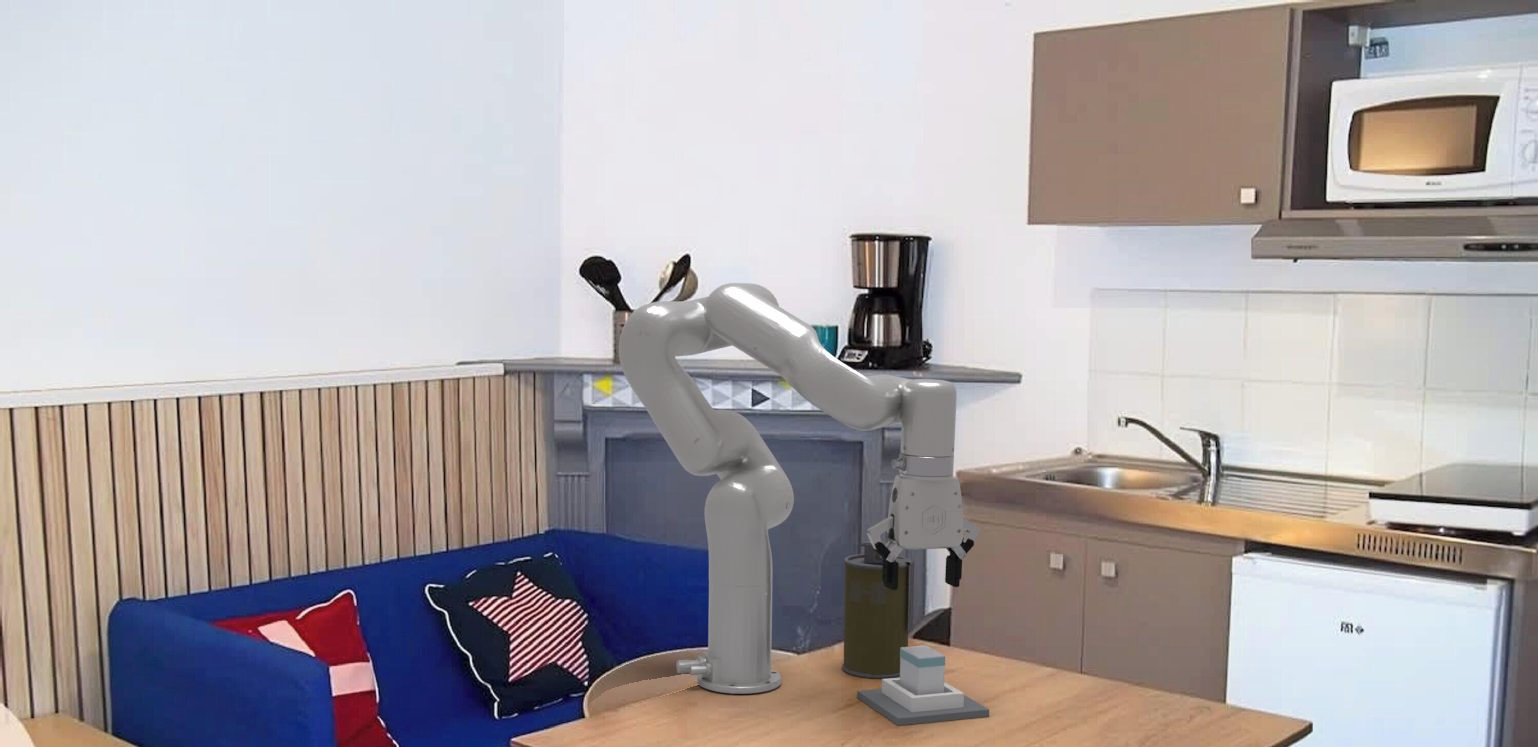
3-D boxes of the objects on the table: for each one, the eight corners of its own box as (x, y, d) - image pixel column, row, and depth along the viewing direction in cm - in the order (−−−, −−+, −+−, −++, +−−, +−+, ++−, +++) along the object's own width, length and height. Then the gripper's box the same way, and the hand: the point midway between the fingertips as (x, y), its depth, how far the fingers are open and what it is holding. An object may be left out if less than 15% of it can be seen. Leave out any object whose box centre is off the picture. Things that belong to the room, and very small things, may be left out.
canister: (832, 673, 219) (834, 545, 218) (854, 657, 229) (857, 534, 228) (900, 682, 215) (902, 551, 214) (919, 665, 225) (922, 540, 223)
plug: (917, 706, 199) (918, 657, 198) (899, 695, 204) (900, 647, 204) (944, 704, 200) (945, 655, 200) (924, 692, 206) (925, 645, 205)
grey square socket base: (898, 725, 193) (898, 703, 193) (857, 697, 207) (857, 676, 206) (989, 716, 198) (989, 695, 198) (943, 689, 211) (943, 669, 211)
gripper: (881, 471, 194) (876, 595, 195) (993, 469, 200) (988, 589, 201) (859, 464, 201) (855, 583, 202) (968, 462, 207) (963, 578, 208)
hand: (921, 586), depth 201 cm, fingers open, 9 cm apart
